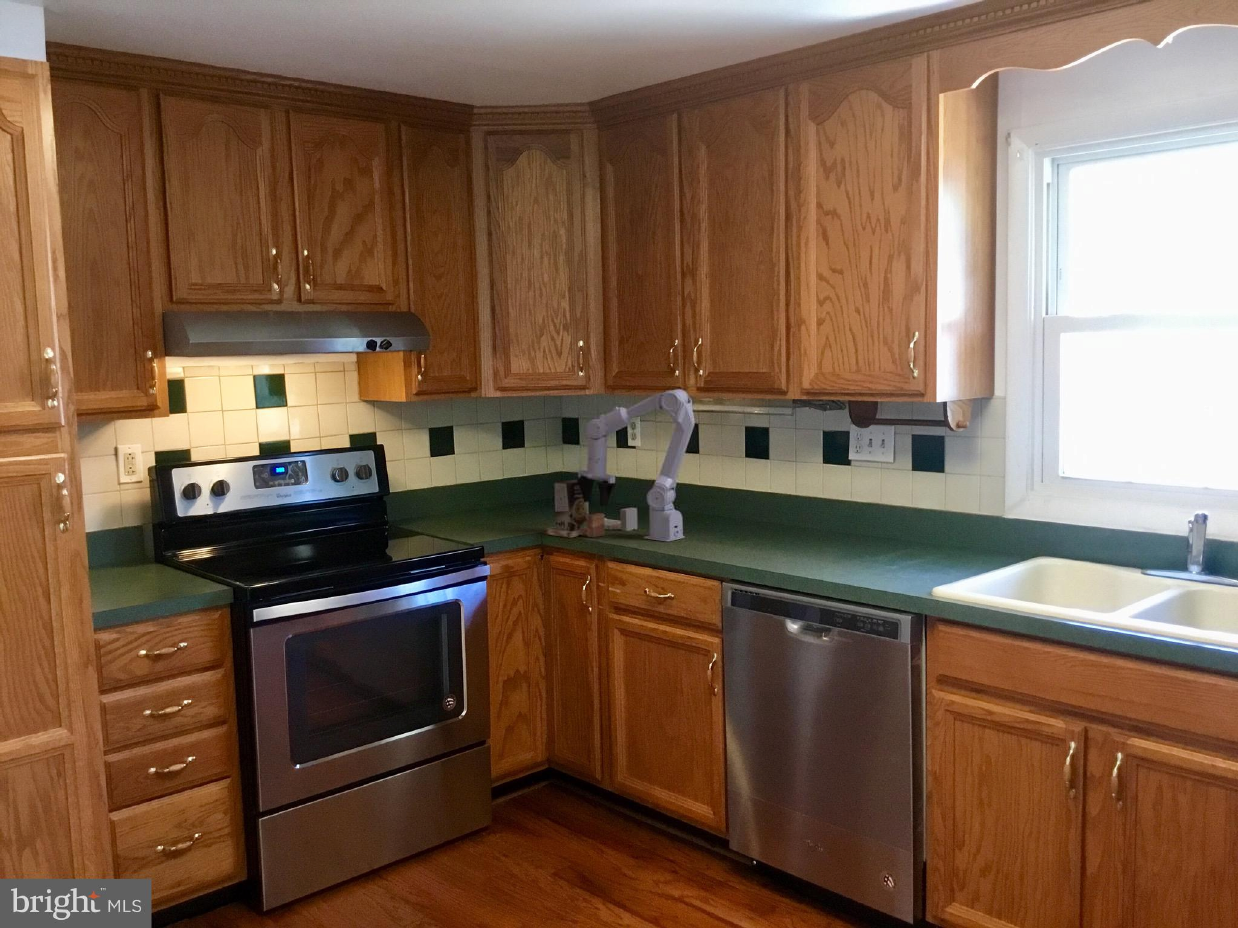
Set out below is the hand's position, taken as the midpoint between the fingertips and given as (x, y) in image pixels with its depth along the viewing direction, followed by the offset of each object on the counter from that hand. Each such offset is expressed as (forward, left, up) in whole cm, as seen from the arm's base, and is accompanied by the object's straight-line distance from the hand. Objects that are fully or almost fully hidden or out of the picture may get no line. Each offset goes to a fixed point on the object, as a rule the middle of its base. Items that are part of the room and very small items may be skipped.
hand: (595, 503), depth 327 cm
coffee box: (+10, 0, -10) cm, 14 cm away
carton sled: (+7, 0, -10) cm, 12 cm away
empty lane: (+7, -14, -10) cm, 18 cm away
